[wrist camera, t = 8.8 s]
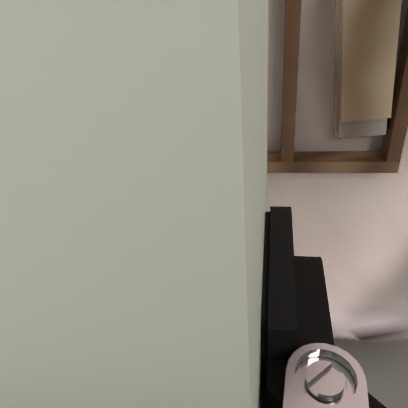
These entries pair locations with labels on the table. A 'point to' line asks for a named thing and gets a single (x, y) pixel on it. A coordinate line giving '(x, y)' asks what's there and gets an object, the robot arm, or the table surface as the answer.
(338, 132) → the offcut stack
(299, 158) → the rack
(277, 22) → the table surface
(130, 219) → the pale green rectangular block
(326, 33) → the table surface
